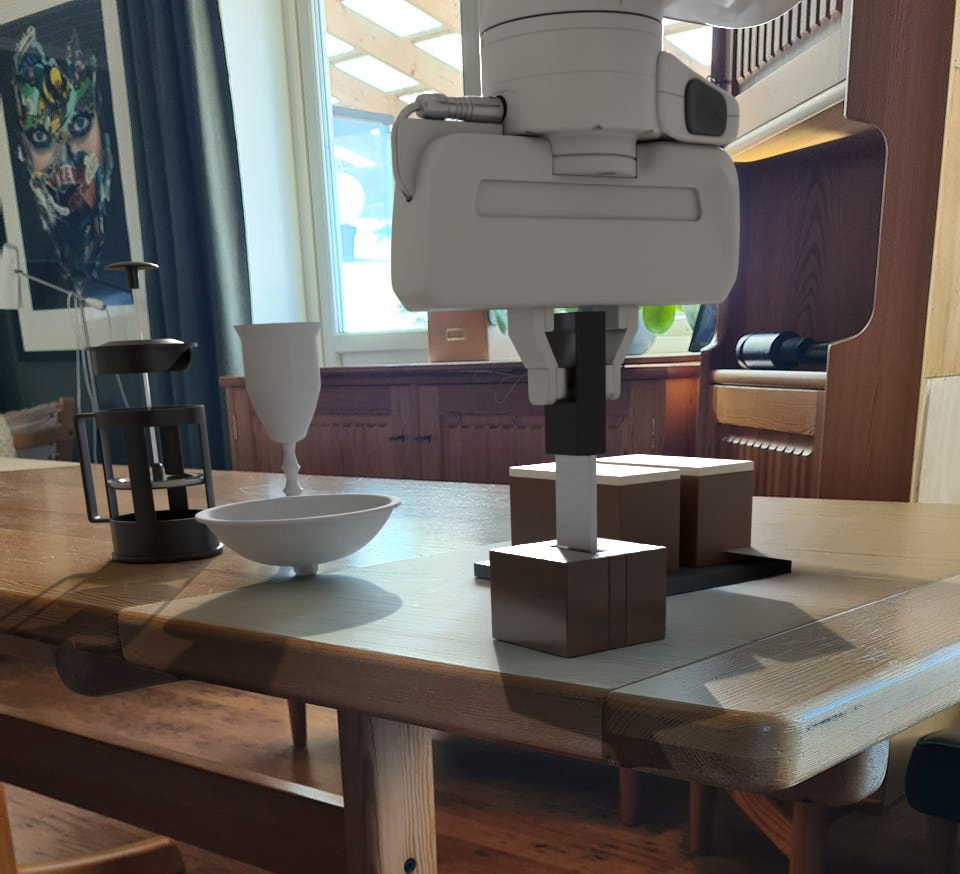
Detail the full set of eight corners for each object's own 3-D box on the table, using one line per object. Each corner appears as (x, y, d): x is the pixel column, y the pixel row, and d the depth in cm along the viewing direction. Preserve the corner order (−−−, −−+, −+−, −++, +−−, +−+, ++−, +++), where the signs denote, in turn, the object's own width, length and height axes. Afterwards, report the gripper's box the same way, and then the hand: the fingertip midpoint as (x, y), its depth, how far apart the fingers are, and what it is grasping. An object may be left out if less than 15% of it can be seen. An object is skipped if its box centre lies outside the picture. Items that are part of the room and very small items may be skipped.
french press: (243, 545, 114) (213, 262, 106) (213, 561, 106) (177, 254, 97) (116, 548, 115) (76, 269, 107) (76, 565, 107) (29, 262, 98)
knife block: (586, 620, 77) (585, 535, 75) (666, 638, 72) (667, 547, 70) (491, 638, 73) (488, 549, 71) (567, 658, 68) (566, 562, 66)
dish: (289, 553, 108) (283, 492, 106) (441, 558, 102) (438, 493, 101) (158, 590, 93) (148, 520, 92) (327, 598, 88) (321, 523, 86)
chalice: (243, 554, 109) (218, 325, 102) (273, 542, 115) (252, 326, 108) (324, 554, 107) (304, 321, 101) (351, 542, 113) (334, 322, 107)
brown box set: (639, 550, 102) (639, 451, 99) (791, 573, 90) (797, 459, 87) (473, 576, 94) (469, 468, 91) (616, 604, 81) (616, 480, 78)
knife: (574, 631, 74) (570, 313, 68) (608, 639, 72) (607, 310, 66) (547, 636, 73) (540, 314, 67) (580, 645, 71) (576, 311, 65)
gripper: (427, 75, 55) (444, 415, 60) (764, 105, 66) (753, 392, 71) (355, 101, 60) (375, 413, 65) (679, 125, 70) (675, 392, 75)
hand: (575, 402), depth 68 cm, fingers closed on knife, 2 cm apart
